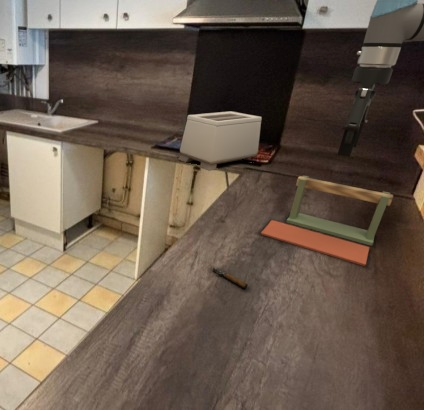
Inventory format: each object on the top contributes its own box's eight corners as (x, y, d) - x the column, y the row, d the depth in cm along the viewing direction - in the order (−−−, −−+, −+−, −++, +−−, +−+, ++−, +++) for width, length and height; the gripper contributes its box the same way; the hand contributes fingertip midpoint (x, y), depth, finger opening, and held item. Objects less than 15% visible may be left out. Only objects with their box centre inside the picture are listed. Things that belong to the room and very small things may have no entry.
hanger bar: (390, 203, 95) (393, 194, 94) (389, 205, 93) (393, 197, 92) (297, 183, 107) (299, 175, 106) (295, 185, 106) (297, 177, 105)
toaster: (260, 160, 168) (270, 116, 160) (209, 170, 153) (217, 122, 144) (227, 151, 184) (235, 110, 175) (177, 159, 168) (183, 114, 160)
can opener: (247, 288, 77) (248, 283, 77) (240, 291, 76) (241, 286, 76) (215, 267, 85) (216, 263, 84) (208, 269, 83) (209, 265, 83)
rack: (374, 235, 101) (391, 191, 96) (371, 246, 96) (390, 199, 90) (292, 214, 114) (303, 173, 108) (286, 222, 108) (297, 180, 102)
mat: (368, 249, 94) (369, 247, 94) (364, 266, 86) (365, 264, 86) (271, 221, 108) (271, 219, 108) (260, 234, 100) (261, 232, 100)
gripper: (361, 64, 99) (337, 140, 107) (349, 66, 81) (322, 157, 90) (395, 66, 94) (368, 145, 103) (391, 68, 77) (359, 163, 85)
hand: (347, 150), depth 96 cm, fingers open, 13 cm apart
